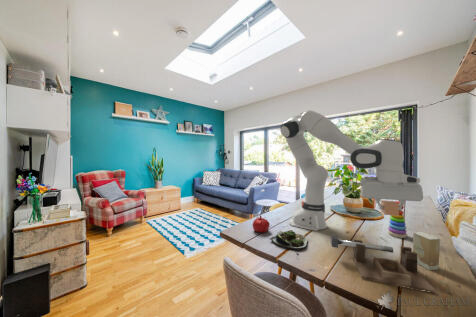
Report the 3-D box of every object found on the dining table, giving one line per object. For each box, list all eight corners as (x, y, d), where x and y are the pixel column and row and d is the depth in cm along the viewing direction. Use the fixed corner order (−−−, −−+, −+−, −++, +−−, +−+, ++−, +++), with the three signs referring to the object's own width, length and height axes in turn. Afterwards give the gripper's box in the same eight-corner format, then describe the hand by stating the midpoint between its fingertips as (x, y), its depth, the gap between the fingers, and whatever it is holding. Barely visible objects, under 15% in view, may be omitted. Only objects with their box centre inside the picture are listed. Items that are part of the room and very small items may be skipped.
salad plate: (278, 230, 105) (277, 222, 105) (309, 236, 97) (309, 228, 97) (267, 244, 88) (267, 235, 88) (304, 254, 80) (304, 244, 80)
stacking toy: (411, 239, 92) (411, 203, 91) (393, 238, 93) (393, 203, 93) (400, 232, 99) (400, 200, 99) (384, 231, 101) (384, 199, 101)
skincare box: (412, 260, 73) (412, 231, 73) (421, 260, 74) (421, 231, 73) (430, 270, 67) (430, 239, 67) (440, 270, 67) (440, 238, 67)
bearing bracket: (361, 278, 63) (361, 256, 63) (352, 257, 76) (352, 239, 76) (436, 293, 56) (436, 269, 56) (411, 267, 69) (411, 247, 69)
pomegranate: (264, 236, 98) (264, 220, 97) (249, 231, 104) (249, 216, 103) (272, 229, 106) (272, 214, 105) (258, 225, 112) (258, 211, 111)
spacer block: (385, 214, 73) (385, 202, 73) (380, 211, 77) (380, 200, 77) (398, 215, 71) (398, 203, 71) (393, 212, 75) (393, 200, 75)
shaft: (331, 246, 75) (331, 238, 75) (330, 242, 78) (330, 235, 78) (394, 256, 67) (394, 247, 67) (390, 252, 71) (390, 243, 71)
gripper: (362, 177, 75) (362, 209, 75) (425, 179, 67) (425, 214, 67) (358, 175, 81) (358, 205, 81) (416, 177, 73) (416, 209, 73)
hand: (389, 209), depth 74 cm, fingers closed on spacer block, 4 cm apart
